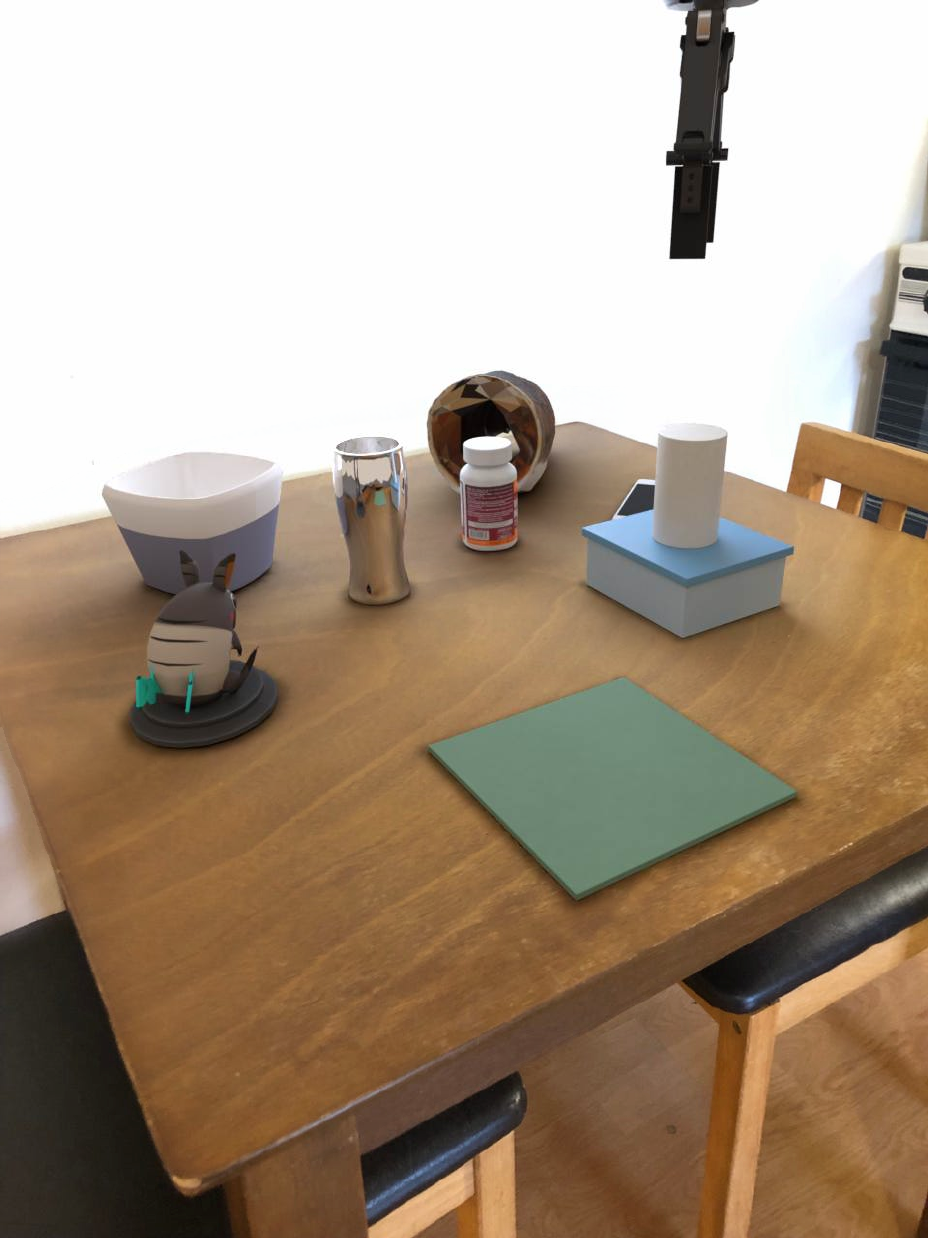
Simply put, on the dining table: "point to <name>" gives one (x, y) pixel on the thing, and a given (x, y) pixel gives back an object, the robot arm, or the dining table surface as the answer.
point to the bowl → (198, 515)
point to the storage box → (685, 573)
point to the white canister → (688, 484)
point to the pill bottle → (488, 494)
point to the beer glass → (373, 515)
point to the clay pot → (492, 423)
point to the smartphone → (638, 499)
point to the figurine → (199, 668)
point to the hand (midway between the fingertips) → (692, 250)
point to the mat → (607, 783)
